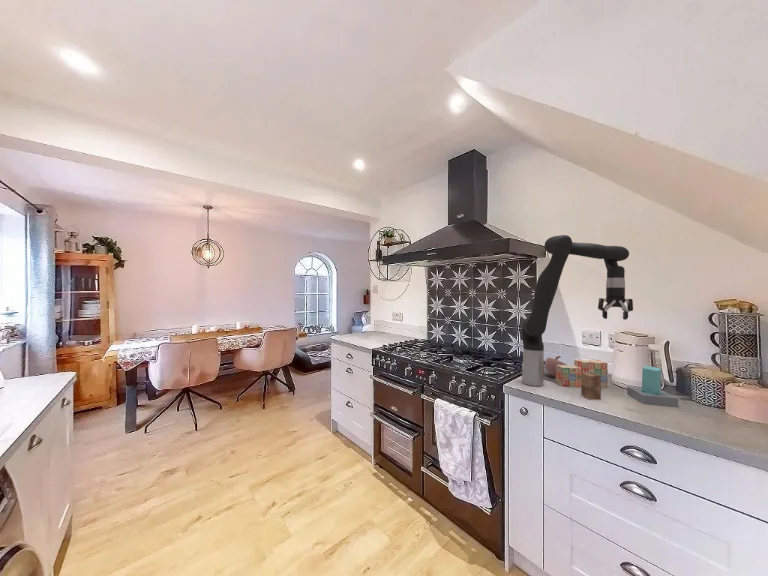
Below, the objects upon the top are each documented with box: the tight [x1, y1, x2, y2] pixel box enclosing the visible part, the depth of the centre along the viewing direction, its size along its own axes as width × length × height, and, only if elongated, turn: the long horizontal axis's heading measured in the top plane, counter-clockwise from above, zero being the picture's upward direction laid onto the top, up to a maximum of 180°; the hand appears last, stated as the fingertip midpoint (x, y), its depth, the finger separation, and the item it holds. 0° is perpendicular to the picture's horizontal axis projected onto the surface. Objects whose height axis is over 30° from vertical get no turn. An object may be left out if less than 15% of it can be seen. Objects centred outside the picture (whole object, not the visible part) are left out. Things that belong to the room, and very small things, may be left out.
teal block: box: [641, 365, 662, 394], centre depth 126 cm, size 5×5×10 cm
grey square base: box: [626, 385, 679, 408], centre depth 127 cm, size 12×12×4 cm
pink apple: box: [544, 355, 568, 378], centre depth 161 cm, size 12×12×12 cm
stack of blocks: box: [555, 358, 609, 389], centre depth 147 cm, size 21×6×12 cm, turn 87°
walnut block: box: [580, 373, 602, 400], centre depth 130 cm, size 5×5×10 cm
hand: (615, 319), depth 149 cm, fingers open, 8 cm apart
